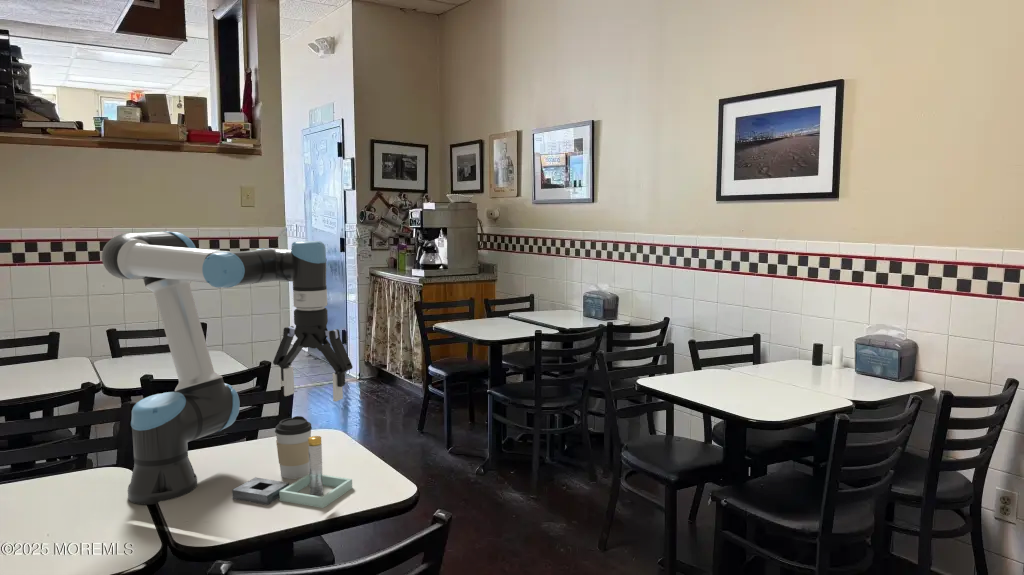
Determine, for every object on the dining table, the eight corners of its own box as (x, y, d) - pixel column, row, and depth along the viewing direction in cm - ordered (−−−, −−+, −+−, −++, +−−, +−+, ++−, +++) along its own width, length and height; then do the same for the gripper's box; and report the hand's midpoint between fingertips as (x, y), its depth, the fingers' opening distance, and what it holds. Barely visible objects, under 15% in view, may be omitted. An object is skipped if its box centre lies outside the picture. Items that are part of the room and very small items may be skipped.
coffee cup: (302, 484, 171) (300, 426, 170) (269, 481, 173) (267, 424, 172) (319, 471, 180) (317, 415, 179) (288, 468, 182) (286, 413, 180)
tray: (279, 503, 160) (279, 491, 160) (311, 484, 172) (310, 472, 171) (323, 511, 156) (323, 498, 156) (352, 490, 168) (352, 479, 167)
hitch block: (232, 502, 161) (232, 489, 161) (256, 489, 169) (255, 477, 168) (267, 508, 158) (267, 495, 158) (289, 494, 165) (289, 482, 165)
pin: (307, 496, 163) (305, 439, 161) (315, 491, 166) (313, 435, 164) (318, 498, 162) (316, 440, 160) (325, 493, 165) (323, 436, 163)
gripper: (255, 307, 159) (259, 396, 162) (347, 313, 151) (350, 406, 154) (276, 303, 166) (279, 388, 169) (366, 308, 158) (368, 398, 161)
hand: (313, 397), depth 161 cm, fingers open, 13 cm apart
